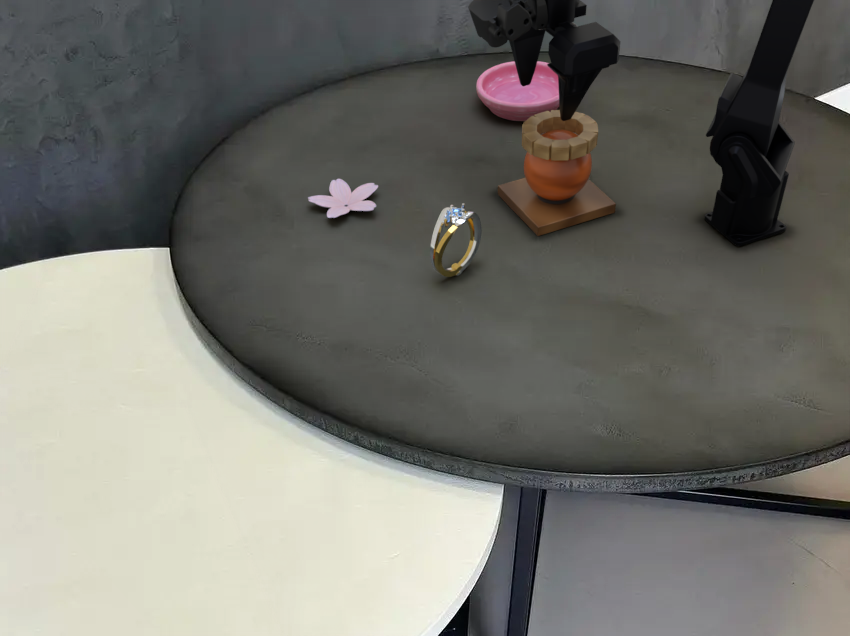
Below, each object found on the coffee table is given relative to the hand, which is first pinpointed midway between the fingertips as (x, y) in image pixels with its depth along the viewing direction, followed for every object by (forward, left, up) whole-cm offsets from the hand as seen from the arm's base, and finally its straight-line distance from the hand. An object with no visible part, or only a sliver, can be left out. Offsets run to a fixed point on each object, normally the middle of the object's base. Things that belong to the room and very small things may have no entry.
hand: (545, 102), depth 109 cm
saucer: (-8, -20, -11) cm, 24 cm away
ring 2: (0, +3, -3) cm, 5 cm away
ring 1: (+16, +10, -11) cm, 22 cm away
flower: (+22, -8, -11) cm, 26 cm away
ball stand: (0, +3, -11) cm, 11 cm away
